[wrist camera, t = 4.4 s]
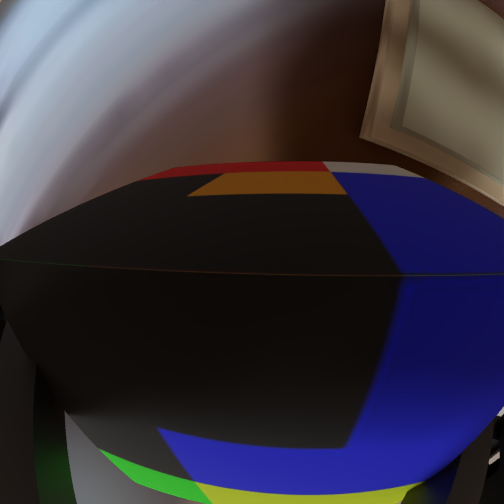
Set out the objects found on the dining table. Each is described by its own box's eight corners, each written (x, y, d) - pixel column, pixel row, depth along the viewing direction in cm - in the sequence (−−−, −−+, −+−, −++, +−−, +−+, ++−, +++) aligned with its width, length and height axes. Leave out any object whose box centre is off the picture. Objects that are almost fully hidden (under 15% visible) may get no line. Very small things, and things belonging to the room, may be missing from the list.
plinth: (387, -17, 11) (405, -48, 6) (521, 65, 10) (554, 60, 5) (358, 137, 16) (380, 137, 12) (500, 204, 16) (536, 223, 11)
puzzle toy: (394, 165, 11) (576, 270, 2) (368, 343, 15) (392, 506, 6) (174, 167, 12) (-18, 257, 3) (201, 337, 16) (135, 482, 7)
